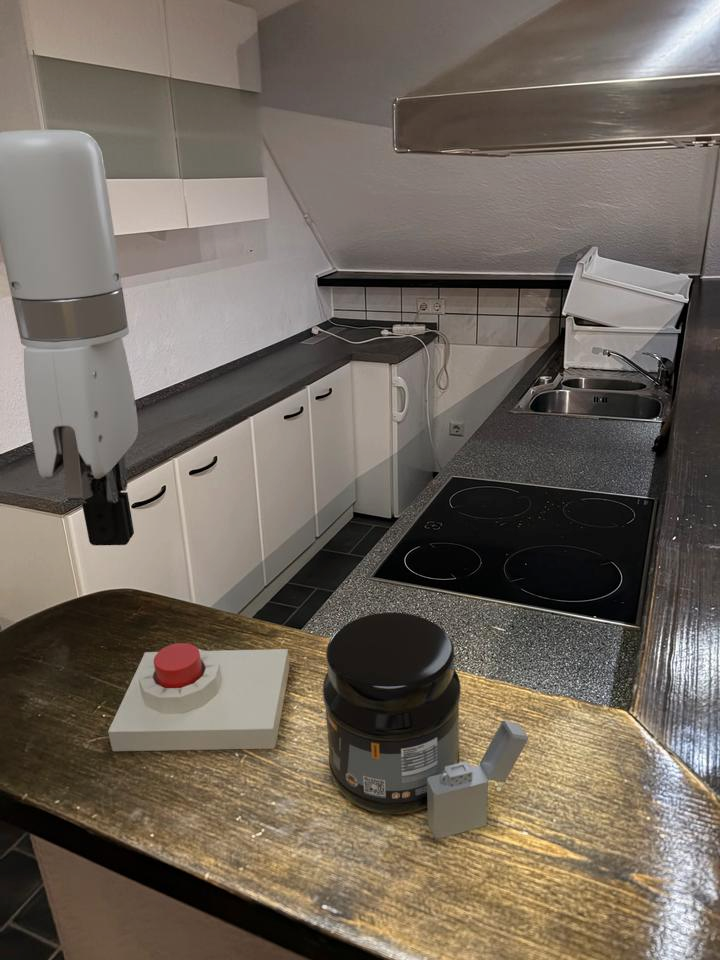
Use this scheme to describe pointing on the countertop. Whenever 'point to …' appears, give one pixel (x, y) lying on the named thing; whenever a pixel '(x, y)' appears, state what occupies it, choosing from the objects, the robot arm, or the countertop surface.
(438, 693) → the supplement container
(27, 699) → the countertop surface
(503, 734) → the lighter
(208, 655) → the grey button base
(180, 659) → the power button
